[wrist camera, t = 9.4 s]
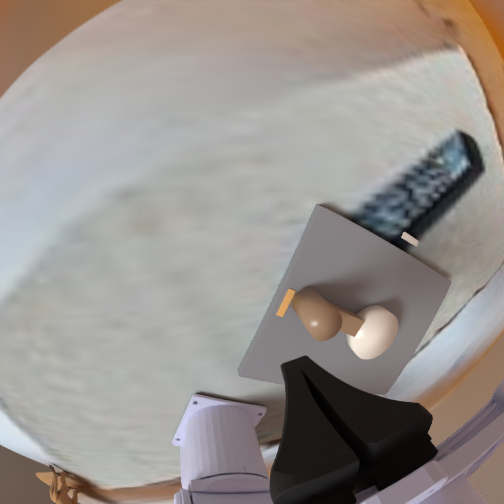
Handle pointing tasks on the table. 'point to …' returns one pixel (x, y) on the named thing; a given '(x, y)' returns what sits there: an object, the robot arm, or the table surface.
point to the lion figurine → (62, 490)
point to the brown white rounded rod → (346, 323)
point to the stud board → (347, 303)
